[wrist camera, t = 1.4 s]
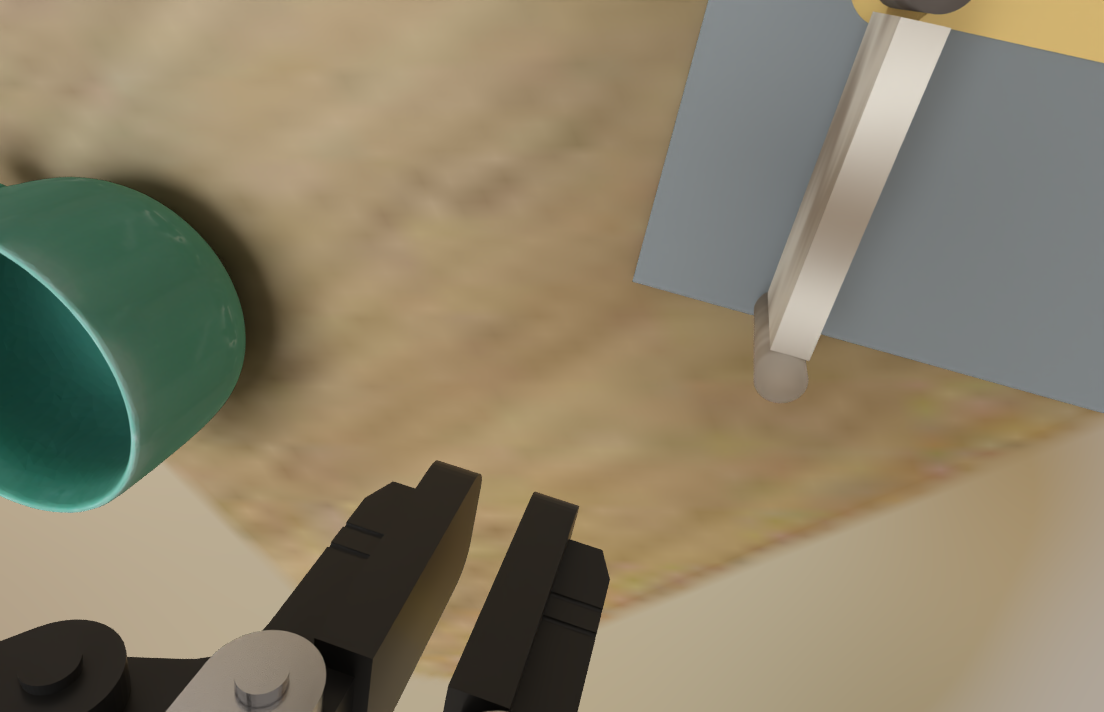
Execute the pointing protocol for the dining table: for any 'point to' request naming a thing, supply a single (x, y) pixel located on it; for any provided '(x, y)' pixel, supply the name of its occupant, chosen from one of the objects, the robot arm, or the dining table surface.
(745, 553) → the dining table surface
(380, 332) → the dining table surface
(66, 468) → the mug
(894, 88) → the hinged panel
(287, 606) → the robot arm
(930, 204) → the card
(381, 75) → the dining table surface
